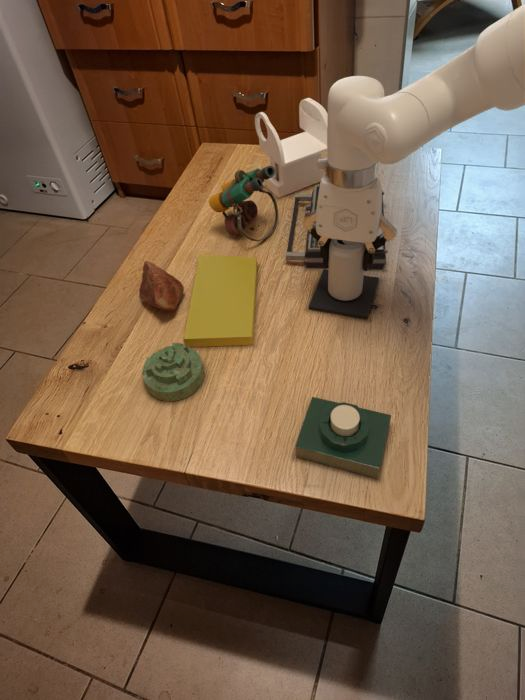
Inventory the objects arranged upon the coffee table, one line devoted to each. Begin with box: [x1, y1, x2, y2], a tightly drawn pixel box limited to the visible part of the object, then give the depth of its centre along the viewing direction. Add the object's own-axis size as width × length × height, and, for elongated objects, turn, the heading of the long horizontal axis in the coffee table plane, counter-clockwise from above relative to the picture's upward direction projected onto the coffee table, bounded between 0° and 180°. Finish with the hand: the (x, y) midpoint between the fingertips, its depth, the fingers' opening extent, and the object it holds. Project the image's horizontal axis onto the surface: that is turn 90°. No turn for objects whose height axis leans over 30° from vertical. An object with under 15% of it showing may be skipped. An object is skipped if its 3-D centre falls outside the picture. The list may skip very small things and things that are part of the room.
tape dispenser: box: [254, 97, 328, 199], centre depth 113 cm, size 14×13×18 cm
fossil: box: [138, 260, 185, 311], centre depth 93 cm, size 13×8×10 cm
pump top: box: [330, 405, 360, 437], centre depth 68 cm, size 4×4×2 cm
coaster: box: [308, 268, 380, 321], centre depth 92 cm, size 11×11×1 cm
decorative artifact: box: [141, 342, 205, 402], centre depth 80 cm, size 10×7×10 cm
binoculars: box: [208, 165, 279, 242], centre depth 103 cm, size 14×14×15 cm
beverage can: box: [327, 239, 366, 301], centre depth 87 cm, size 6×6×12 cm
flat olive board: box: [183, 253, 259, 348], centre depth 93 cm, size 12×2×24 cm
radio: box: [285, 184, 389, 270], centre depth 103 cm, size 24×5×20 cm
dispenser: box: [294, 396, 392, 479], centre depth 70 cm, size 12×9×5 cm
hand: (346, 262), depth 86 cm, fingers open, 6 cm apart
